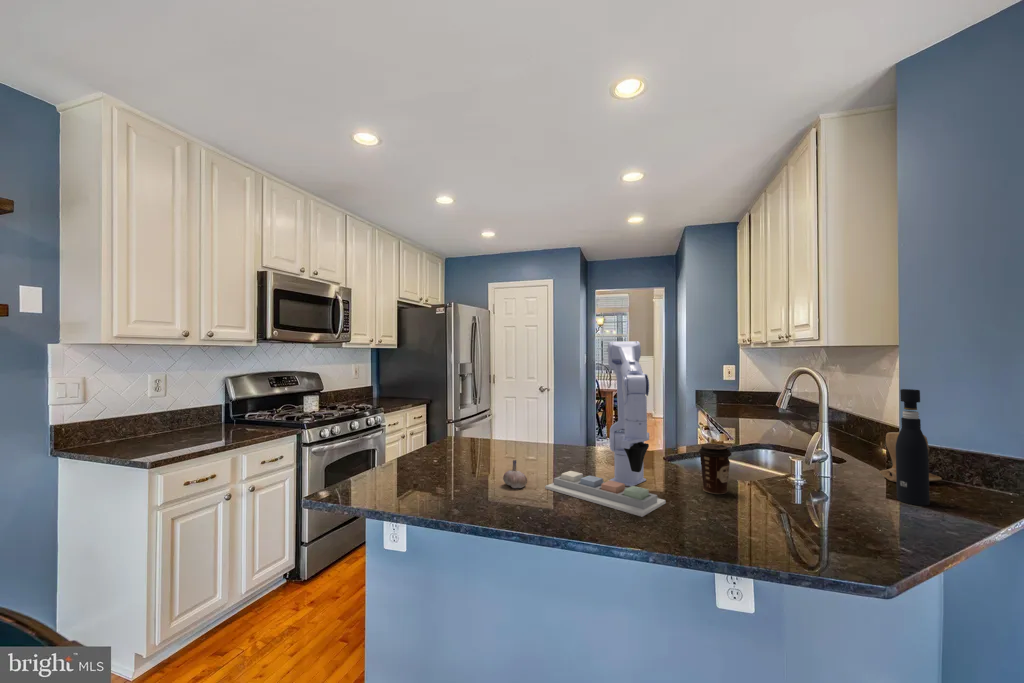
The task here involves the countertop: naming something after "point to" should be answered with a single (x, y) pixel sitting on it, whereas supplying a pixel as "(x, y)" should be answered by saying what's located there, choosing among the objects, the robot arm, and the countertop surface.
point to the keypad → (607, 497)
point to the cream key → (571, 476)
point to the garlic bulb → (515, 477)
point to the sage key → (636, 492)
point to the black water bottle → (912, 454)
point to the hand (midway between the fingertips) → (636, 471)
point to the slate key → (591, 481)
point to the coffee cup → (715, 468)
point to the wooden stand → (891, 446)
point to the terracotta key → (613, 486)
